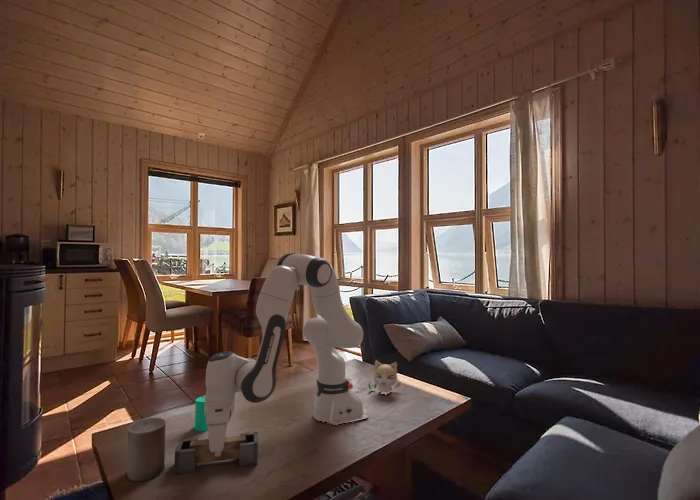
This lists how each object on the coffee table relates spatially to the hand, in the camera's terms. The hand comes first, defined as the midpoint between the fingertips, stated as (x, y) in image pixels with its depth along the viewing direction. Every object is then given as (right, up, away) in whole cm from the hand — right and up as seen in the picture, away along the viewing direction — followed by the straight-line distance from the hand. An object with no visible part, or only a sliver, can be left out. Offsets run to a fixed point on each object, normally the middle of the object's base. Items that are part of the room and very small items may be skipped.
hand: (218, 451), depth 112 cm
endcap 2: (+9, -4, +2) cm, 10 cm away
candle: (-14, -4, +22) cm, 26 cm away
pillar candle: (-19, -3, -5) cm, 20 cm away
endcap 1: (-9, -3, -2) cm, 10 cm away
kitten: (+57, -6, +60) cm, 83 cm away
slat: (0, -2, 0) cm, 2 cm away
